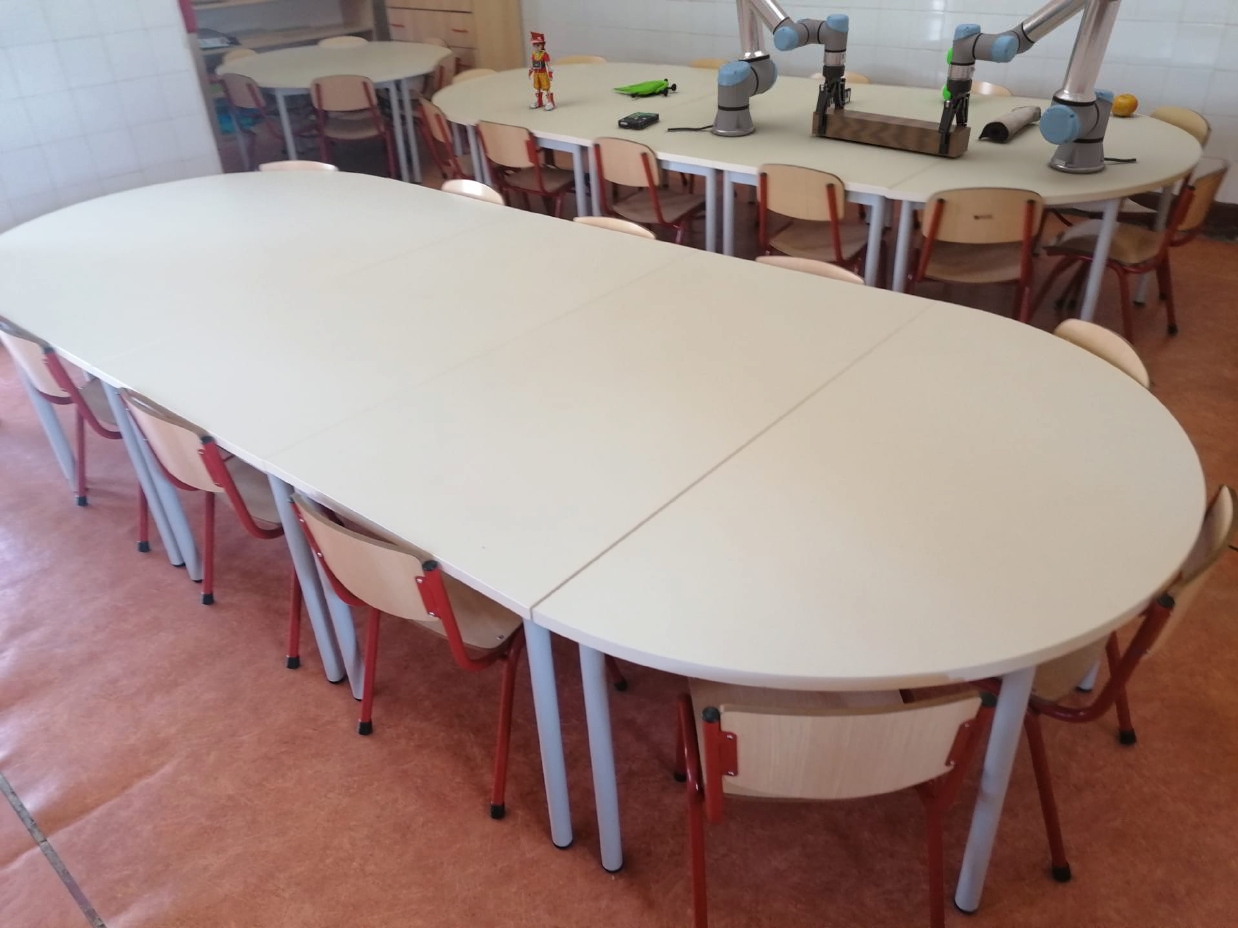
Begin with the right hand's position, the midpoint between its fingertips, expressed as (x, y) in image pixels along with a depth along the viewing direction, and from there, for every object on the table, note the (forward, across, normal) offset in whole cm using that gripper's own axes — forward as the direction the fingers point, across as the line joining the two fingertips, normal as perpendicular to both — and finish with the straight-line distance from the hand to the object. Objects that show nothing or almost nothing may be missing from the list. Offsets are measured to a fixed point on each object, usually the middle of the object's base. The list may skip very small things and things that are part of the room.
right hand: (949, 150), depth 298 cm
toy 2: (+1, +18, +153) cm, 154 cm away
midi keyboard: (+1, +39, +66) cm, 76 cm away
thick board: (0, 0, +23) cm, 23 cm away
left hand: (0, 0, +46) cm, 46 cm away
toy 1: (+1, -25, +171) cm, 173 cm away
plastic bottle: (+1, +66, +30) cm, 73 cm away
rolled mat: (+2, +36, -5) cm, 37 cm away
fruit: (+2, +77, -29) cm, 83 cm away
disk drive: (+1, -24, +117) cm, 119 cm away
